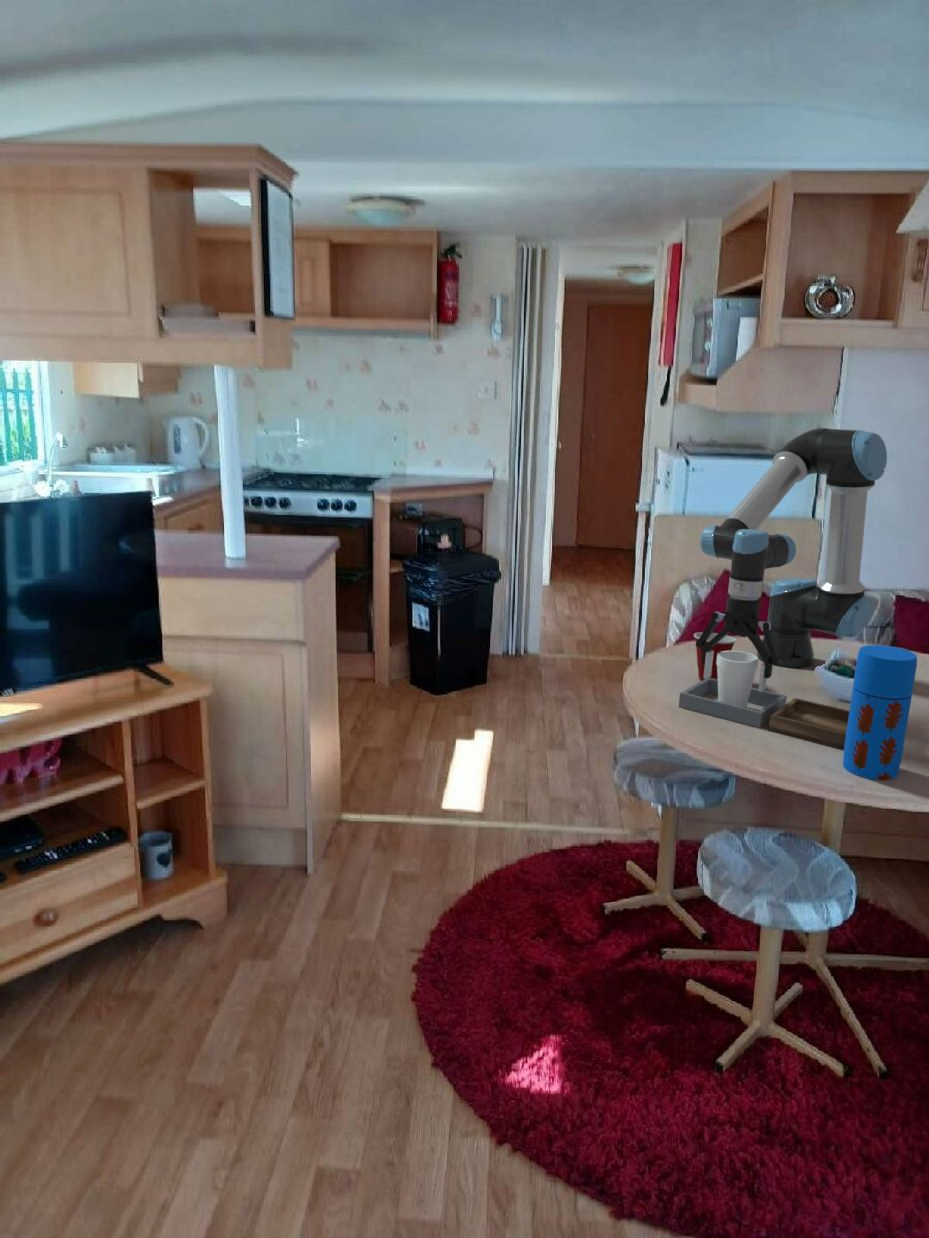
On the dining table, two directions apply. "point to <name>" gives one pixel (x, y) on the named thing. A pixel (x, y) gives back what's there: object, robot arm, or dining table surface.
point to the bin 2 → (811, 722)
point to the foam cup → (735, 676)
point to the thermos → (879, 711)
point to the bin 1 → (728, 711)
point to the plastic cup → (722, 645)
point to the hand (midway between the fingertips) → (733, 683)
